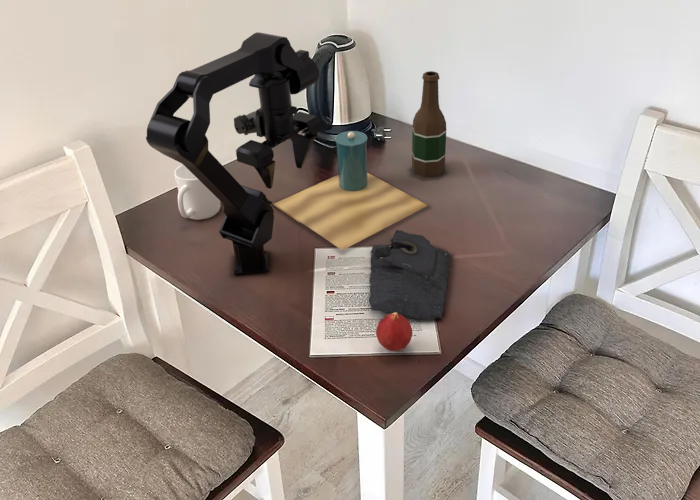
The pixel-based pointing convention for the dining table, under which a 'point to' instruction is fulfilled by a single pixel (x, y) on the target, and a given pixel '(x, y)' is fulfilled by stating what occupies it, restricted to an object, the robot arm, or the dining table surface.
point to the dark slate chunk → (409, 277)
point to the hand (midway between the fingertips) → (284, 177)
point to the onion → (394, 332)
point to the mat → (349, 209)
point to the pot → (352, 160)
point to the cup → (194, 196)
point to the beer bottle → (429, 131)
